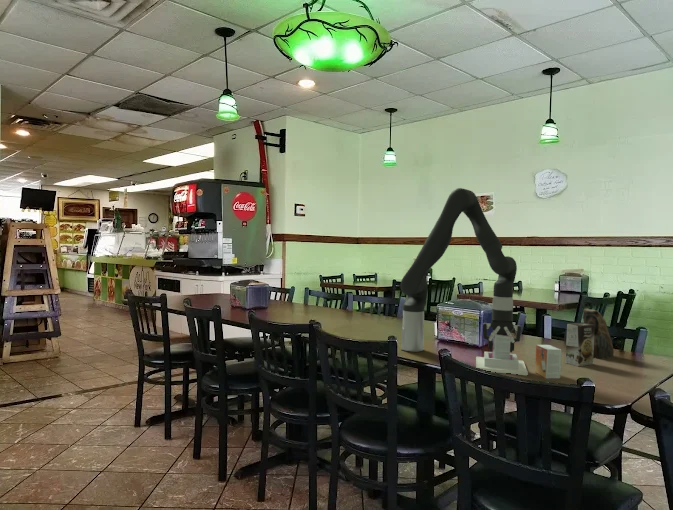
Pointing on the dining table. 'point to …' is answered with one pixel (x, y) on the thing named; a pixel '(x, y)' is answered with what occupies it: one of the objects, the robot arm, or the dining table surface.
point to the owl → (599, 334)
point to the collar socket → (501, 364)
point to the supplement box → (501, 347)
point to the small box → (548, 361)
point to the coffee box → (580, 344)
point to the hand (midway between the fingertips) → (501, 351)
